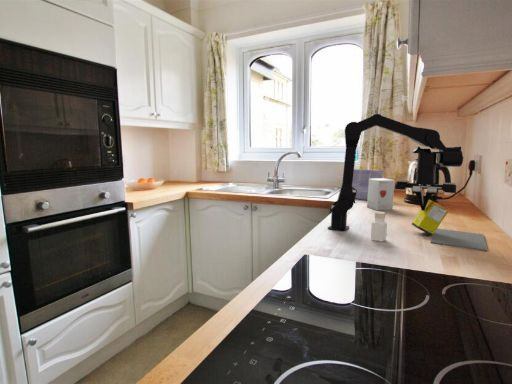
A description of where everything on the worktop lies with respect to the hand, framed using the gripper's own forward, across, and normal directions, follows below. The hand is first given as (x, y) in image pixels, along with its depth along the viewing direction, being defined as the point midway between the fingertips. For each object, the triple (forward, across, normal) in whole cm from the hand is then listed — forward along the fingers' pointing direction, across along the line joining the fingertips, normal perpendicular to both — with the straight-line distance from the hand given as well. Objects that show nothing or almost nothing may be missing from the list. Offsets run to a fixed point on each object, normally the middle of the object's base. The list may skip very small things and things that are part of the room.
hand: (422, 210), depth 111 cm
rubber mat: (+9, -11, 0) cm, 14 cm away
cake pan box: (+9, +35, -64) cm, 74 cm away
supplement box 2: (+9, +22, -40) cm, 47 cm away
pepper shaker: (+9, +11, +16) cm, 22 cm away
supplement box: (+8, 0, 0) cm, 8 cm away
